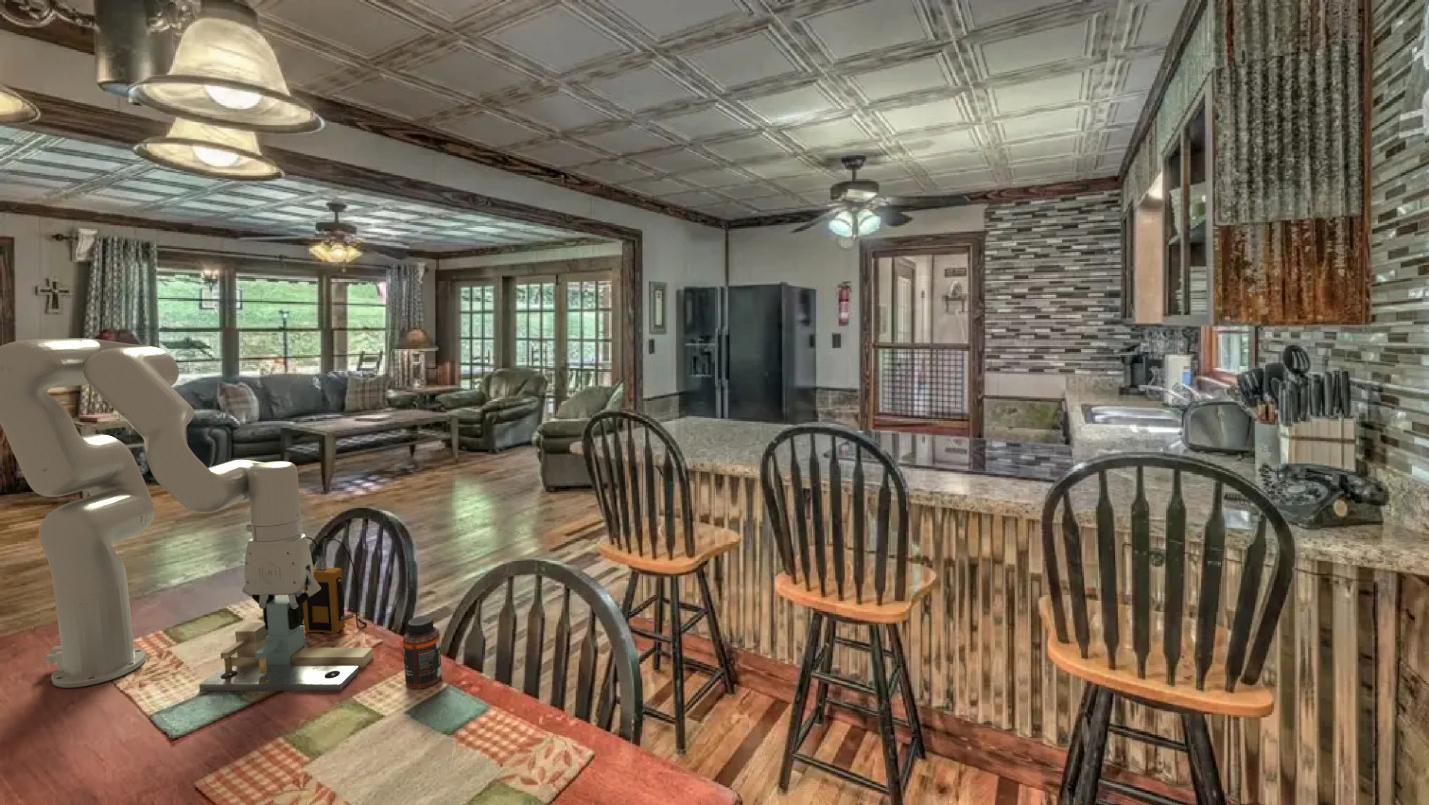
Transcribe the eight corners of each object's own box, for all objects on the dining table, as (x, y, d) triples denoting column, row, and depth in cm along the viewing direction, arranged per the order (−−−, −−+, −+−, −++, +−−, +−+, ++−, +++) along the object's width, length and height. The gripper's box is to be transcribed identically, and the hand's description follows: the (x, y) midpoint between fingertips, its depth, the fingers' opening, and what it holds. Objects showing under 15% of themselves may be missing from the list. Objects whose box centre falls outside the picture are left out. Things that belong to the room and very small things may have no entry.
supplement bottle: (449, 677, 118) (446, 616, 117) (422, 693, 113) (419, 630, 112) (425, 669, 121) (422, 610, 120) (397, 685, 116) (394, 623, 114)
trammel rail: (209, 684, 116) (205, 646, 115) (245, 657, 125) (242, 622, 124) (347, 683, 116) (345, 645, 115) (373, 657, 125) (371, 622, 124)
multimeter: (383, 614, 144) (378, 525, 141) (354, 636, 134) (348, 540, 131) (320, 611, 145) (314, 522, 143) (286, 632, 135) (279, 537, 133)
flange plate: (199, 691, 114) (199, 683, 113) (224, 672, 120) (224, 665, 119) (340, 690, 114) (340, 683, 114) (358, 672, 120) (358, 665, 120)
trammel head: (249, 681, 116) (244, 617, 114) (285, 652, 126) (281, 594, 124) (272, 681, 116) (267, 617, 114) (306, 652, 126) (302, 594, 124)
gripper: (215, 536, 116) (224, 636, 118) (311, 536, 116) (318, 636, 119) (245, 524, 124) (253, 617, 126) (334, 524, 124) (340, 617, 126)
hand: (284, 625), depth 122 cm, fingers closed on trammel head, 3 cm apart
